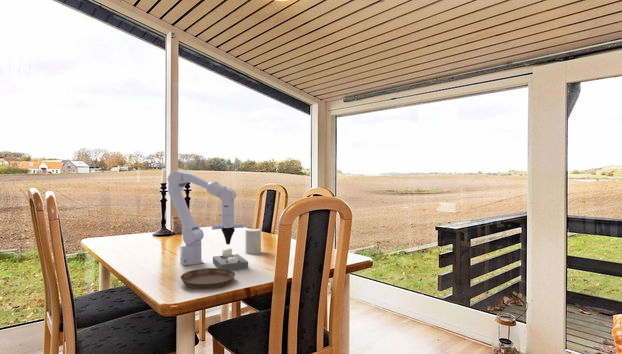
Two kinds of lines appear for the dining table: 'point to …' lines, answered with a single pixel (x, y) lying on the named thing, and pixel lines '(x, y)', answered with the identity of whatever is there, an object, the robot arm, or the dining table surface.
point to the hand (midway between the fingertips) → (227, 244)
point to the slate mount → (223, 263)
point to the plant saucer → (208, 278)
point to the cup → (253, 241)
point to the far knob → (226, 253)
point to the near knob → (232, 260)
